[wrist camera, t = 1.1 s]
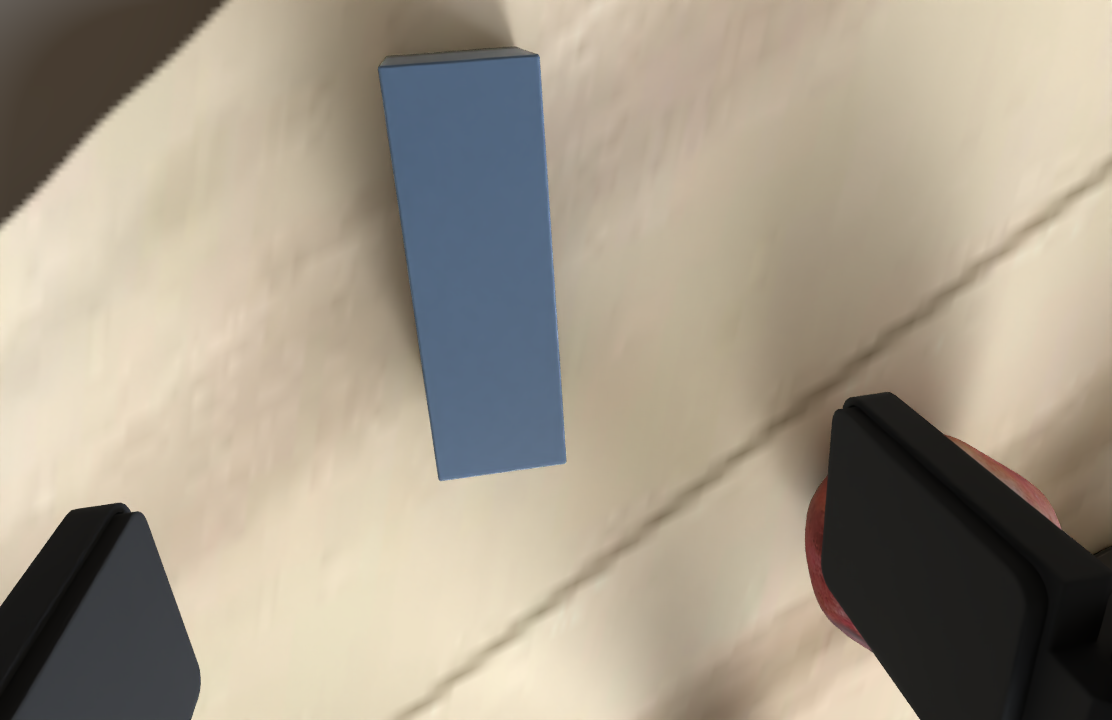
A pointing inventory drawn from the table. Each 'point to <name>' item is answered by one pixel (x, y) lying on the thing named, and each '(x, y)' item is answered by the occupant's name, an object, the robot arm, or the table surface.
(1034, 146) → the table surface
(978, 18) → the table surface
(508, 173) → the blue rectangular block
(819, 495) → the fruit
